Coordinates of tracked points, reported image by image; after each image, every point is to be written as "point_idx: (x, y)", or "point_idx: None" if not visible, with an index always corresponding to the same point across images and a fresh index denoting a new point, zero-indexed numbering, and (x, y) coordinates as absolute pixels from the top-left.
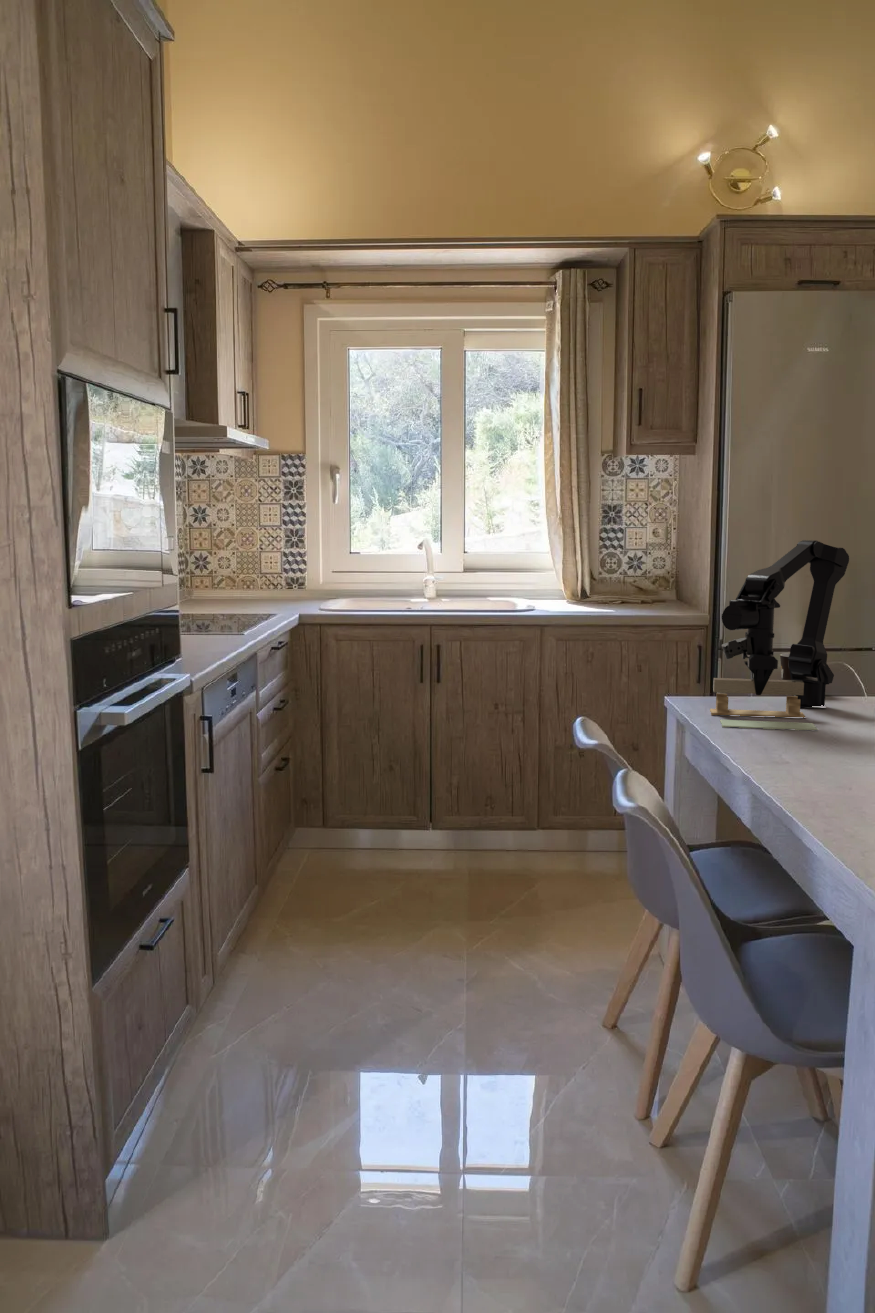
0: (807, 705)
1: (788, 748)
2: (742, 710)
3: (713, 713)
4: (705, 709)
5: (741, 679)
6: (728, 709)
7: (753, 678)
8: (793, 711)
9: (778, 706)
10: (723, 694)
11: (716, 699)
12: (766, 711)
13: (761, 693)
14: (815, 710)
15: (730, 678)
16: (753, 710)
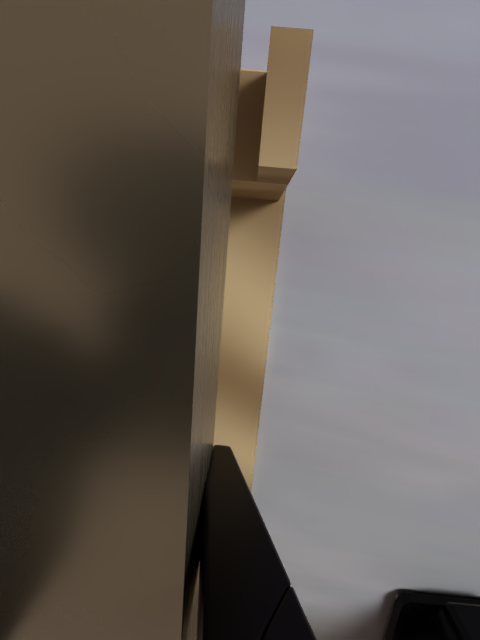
0: (407, 637)
1: None
2: (249, 305)
3: None
4: (366, 57)
5: (69, 365)
6: (275, 217)
7: (204, 600)
8: None
9: (462, 522)
10: (264, 124)
11: (265, 72)
12: (234, 433)
13: None
14: (353, 634)
15: (182, 94)
16: (257, 370)
